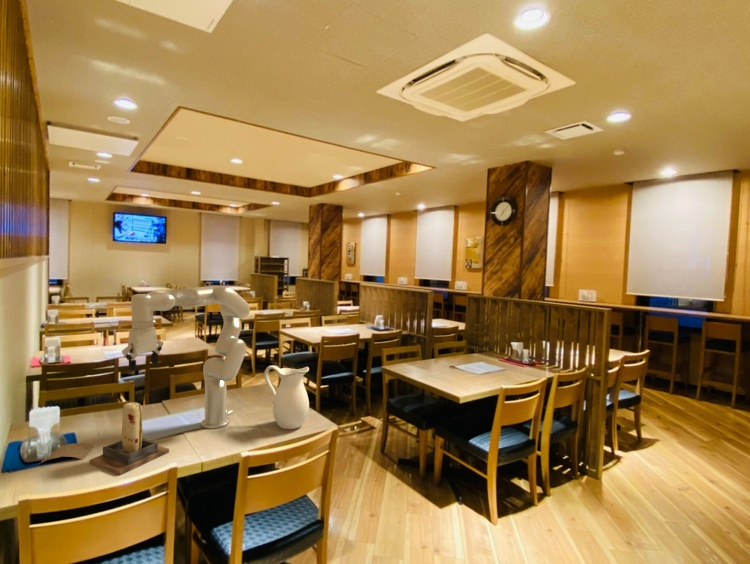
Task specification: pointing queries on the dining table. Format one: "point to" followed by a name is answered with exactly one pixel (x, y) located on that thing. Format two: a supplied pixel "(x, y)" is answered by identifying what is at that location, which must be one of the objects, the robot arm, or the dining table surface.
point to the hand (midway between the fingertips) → (144, 366)
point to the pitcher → (289, 397)
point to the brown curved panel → (71, 451)
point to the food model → (132, 427)
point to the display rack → (127, 456)
